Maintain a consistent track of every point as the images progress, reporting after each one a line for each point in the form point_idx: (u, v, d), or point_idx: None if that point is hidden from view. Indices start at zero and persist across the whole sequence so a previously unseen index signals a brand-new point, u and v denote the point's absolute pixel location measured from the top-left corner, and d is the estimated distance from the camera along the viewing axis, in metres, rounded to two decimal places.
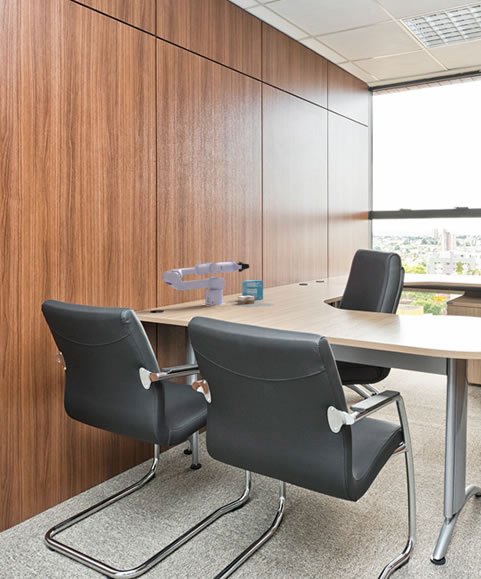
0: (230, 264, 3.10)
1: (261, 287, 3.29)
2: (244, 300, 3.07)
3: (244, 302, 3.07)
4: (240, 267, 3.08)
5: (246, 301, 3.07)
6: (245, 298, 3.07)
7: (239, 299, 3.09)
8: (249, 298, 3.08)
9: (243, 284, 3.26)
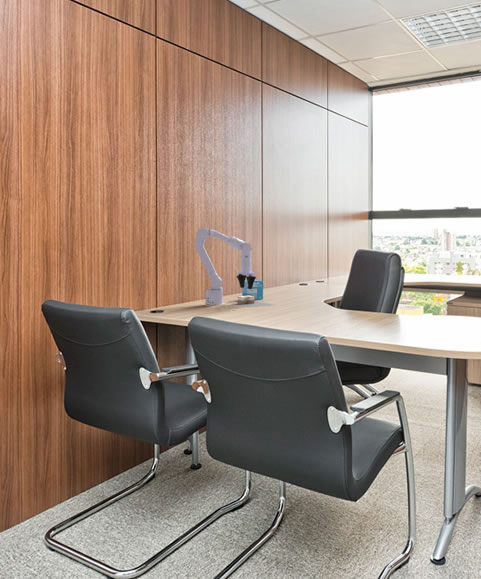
0: (250, 268, 3.07)
1: (261, 287, 3.29)
2: (244, 300, 3.07)
3: (244, 302, 3.07)
4: (253, 275, 3.03)
5: (246, 301, 3.07)
6: (245, 298, 3.07)
7: (239, 299, 3.09)
8: (249, 298, 3.08)
9: None
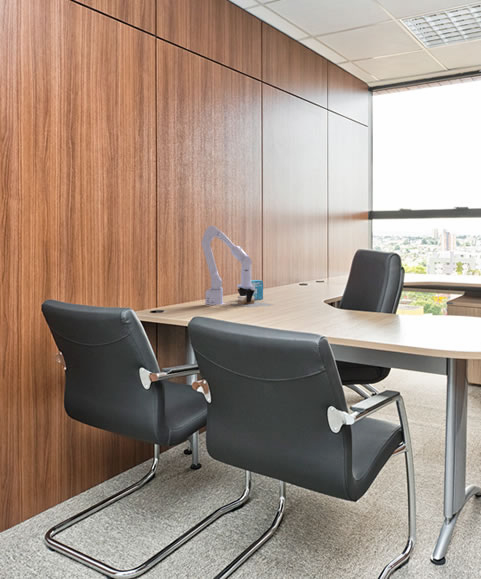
0: (250, 281, 3.08)
1: (261, 287, 3.29)
2: (244, 300, 3.07)
3: (244, 302, 3.07)
4: (253, 288, 3.03)
5: (246, 301, 3.07)
6: (245, 298, 3.07)
7: (239, 299, 3.09)
8: None
9: None
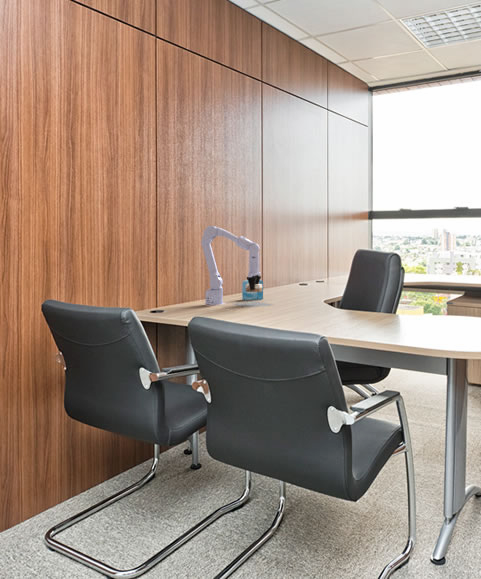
0: (255, 269, 3.03)
1: None
2: (247, 287, 3.05)
3: (247, 289, 3.05)
4: (249, 275, 2.99)
5: None
6: (248, 285, 3.05)
7: None
8: None
9: (243, 284, 3.26)
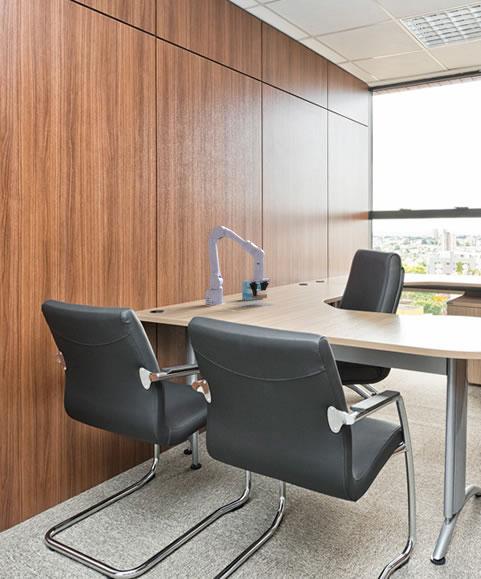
0: (257, 275, 3.01)
1: None
2: (252, 293, 3.06)
3: (252, 295, 3.06)
4: (248, 281, 3.00)
5: None
6: None
7: None
8: None
9: (243, 284, 3.26)
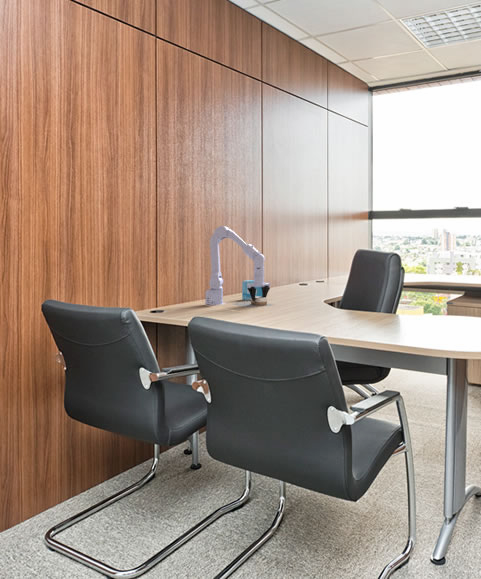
0: (257, 279, 3.02)
1: None
2: None
3: (252, 302, 3.06)
4: (247, 286, 3.01)
5: (253, 302, 3.05)
6: None
7: None
8: (255, 299, 3.03)
9: (243, 284, 3.26)
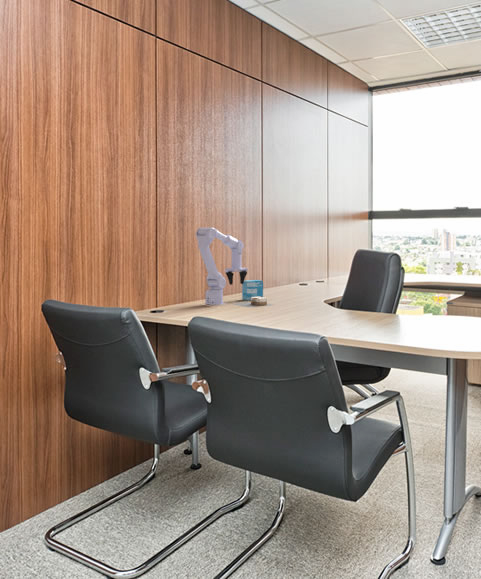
0: (234, 264, 3.17)
1: (261, 287, 3.29)
2: (252, 300, 3.06)
3: (252, 302, 3.06)
4: (225, 270, 3.16)
5: (253, 302, 3.05)
6: (252, 298, 3.06)
7: None
8: (255, 299, 3.03)
9: (243, 284, 3.26)
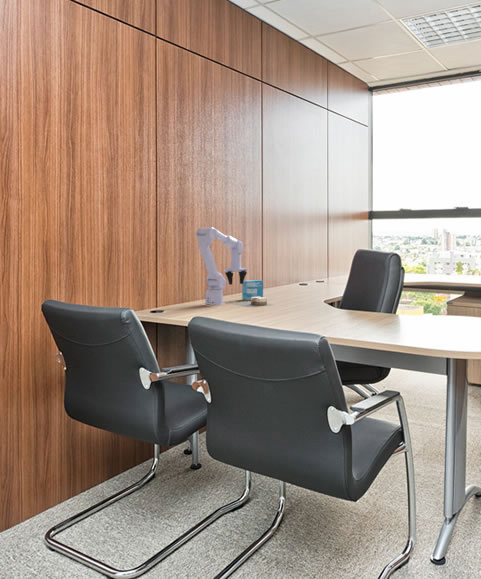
0: (234, 264, 3.17)
1: (261, 287, 3.29)
2: (252, 300, 3.06)
3: (252, 302, 3.06)
4: (225, 270, 3.16)
5: (253, 302, 3.05)
6: (252, 298, 3.06)
7: None
8: (255, 299, 3.03)
9: (243, 284, 3.26)
